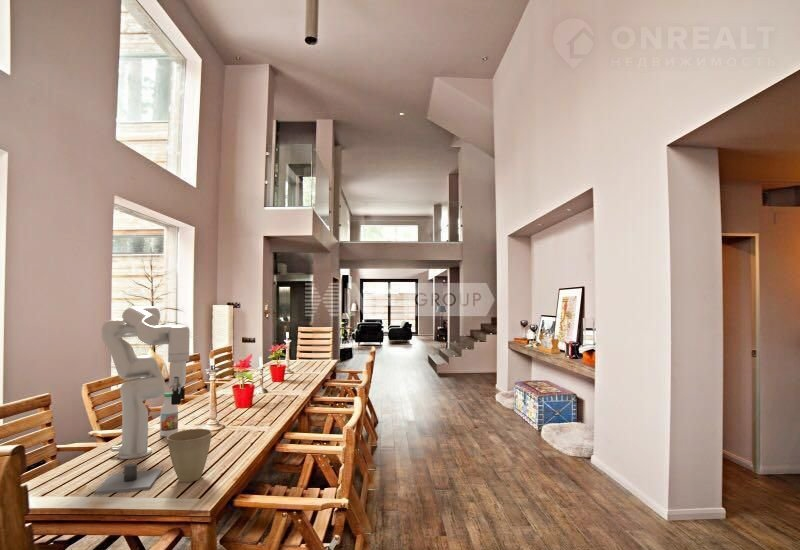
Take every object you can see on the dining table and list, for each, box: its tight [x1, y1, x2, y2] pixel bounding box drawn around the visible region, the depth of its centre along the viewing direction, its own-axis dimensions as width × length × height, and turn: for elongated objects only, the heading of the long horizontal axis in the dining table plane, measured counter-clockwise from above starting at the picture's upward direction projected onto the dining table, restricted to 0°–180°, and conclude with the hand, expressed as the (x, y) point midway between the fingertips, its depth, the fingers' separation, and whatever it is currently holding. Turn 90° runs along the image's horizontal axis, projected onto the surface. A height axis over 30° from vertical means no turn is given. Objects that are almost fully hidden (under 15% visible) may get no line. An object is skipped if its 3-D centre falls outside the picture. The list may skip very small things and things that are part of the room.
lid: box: [93, 463, 163, 496], centre depth 167 cm, size 17×17×6 cm
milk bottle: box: [159, 391, 179, 438], centre depth 227 cm, size 8×8×20 cm
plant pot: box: [166, 428, 213, 483], centre depth 170 cm, size 15×15×16 cm
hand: (178, 401), depth 183 cm, fingers open, 9 cm apart
